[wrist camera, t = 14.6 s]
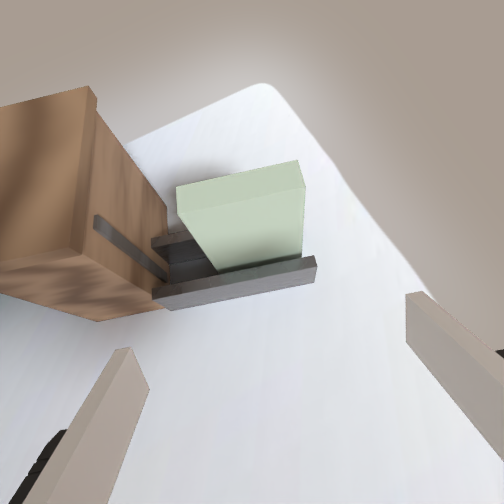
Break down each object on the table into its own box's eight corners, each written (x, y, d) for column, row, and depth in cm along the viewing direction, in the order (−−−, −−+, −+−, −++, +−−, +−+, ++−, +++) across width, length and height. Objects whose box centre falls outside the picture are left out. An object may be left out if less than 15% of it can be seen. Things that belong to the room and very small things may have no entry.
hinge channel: (171, 311, 33) (151, 300, 28) (168, 256, 36) (150, 238, 31) (314, 282, 32) (317, 266, 28) (299, 228, 35) (300, 206, 30)
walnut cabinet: (92, 326, 33) (-84, 280, 18) (100, 217, 40) (-25, 113, 24) (175, 310, 33) (68, 247, 17) (170, 202, 39) (88, 85, 24)
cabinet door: (224, 281, 34) (177, 214, 20) (221, 256, 35) (175, 178, 21) (300, 266, 33) (305, 186, 19) (294, 241, 34) (295, 151, 21)
